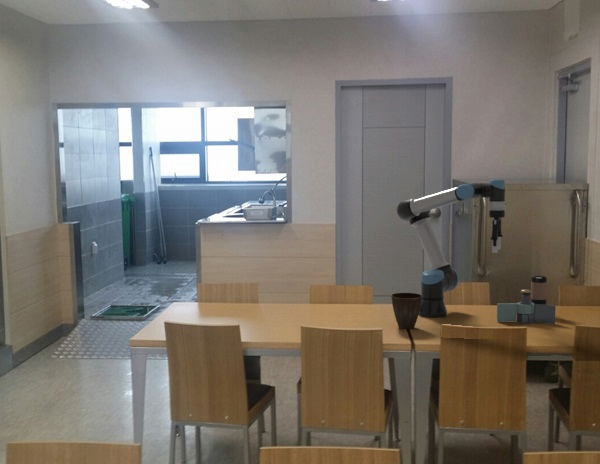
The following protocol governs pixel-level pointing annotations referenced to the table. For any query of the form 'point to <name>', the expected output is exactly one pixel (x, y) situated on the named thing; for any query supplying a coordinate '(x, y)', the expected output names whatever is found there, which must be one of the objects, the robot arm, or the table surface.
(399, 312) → the plant pot
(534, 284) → the travel mug
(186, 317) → the table surface
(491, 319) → the table surface
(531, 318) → the hinge leaf fixed
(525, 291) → the hinge pin
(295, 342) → the table surface
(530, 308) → the hinge leaf swing
